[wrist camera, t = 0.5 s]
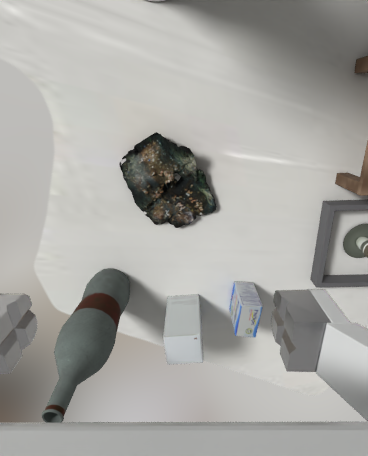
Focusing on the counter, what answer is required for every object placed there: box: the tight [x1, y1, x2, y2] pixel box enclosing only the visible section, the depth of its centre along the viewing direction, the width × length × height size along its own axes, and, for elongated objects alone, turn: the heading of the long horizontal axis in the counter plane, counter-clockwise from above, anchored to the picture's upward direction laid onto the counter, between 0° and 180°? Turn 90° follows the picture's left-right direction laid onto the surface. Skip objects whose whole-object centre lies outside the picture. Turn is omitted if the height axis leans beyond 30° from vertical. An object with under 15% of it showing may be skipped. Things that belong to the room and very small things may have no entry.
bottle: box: [42, 268, 130, 423], centre depth 49 cm, size 9×9×30 cm
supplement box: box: [163, 295, 203, 364], centre depth 59 cm, size 7×7×13 cm
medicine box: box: [230, 281, 263, 337], centre depth 60 cm, size 8×4×9 cm, turn 176°
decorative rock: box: [120, 132, 216, 228], centre depth 53 cm, size 19×6×15 cm
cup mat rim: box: [311, 200, 368, 287], centre depth 57 cm, size 18×18×3 cm
